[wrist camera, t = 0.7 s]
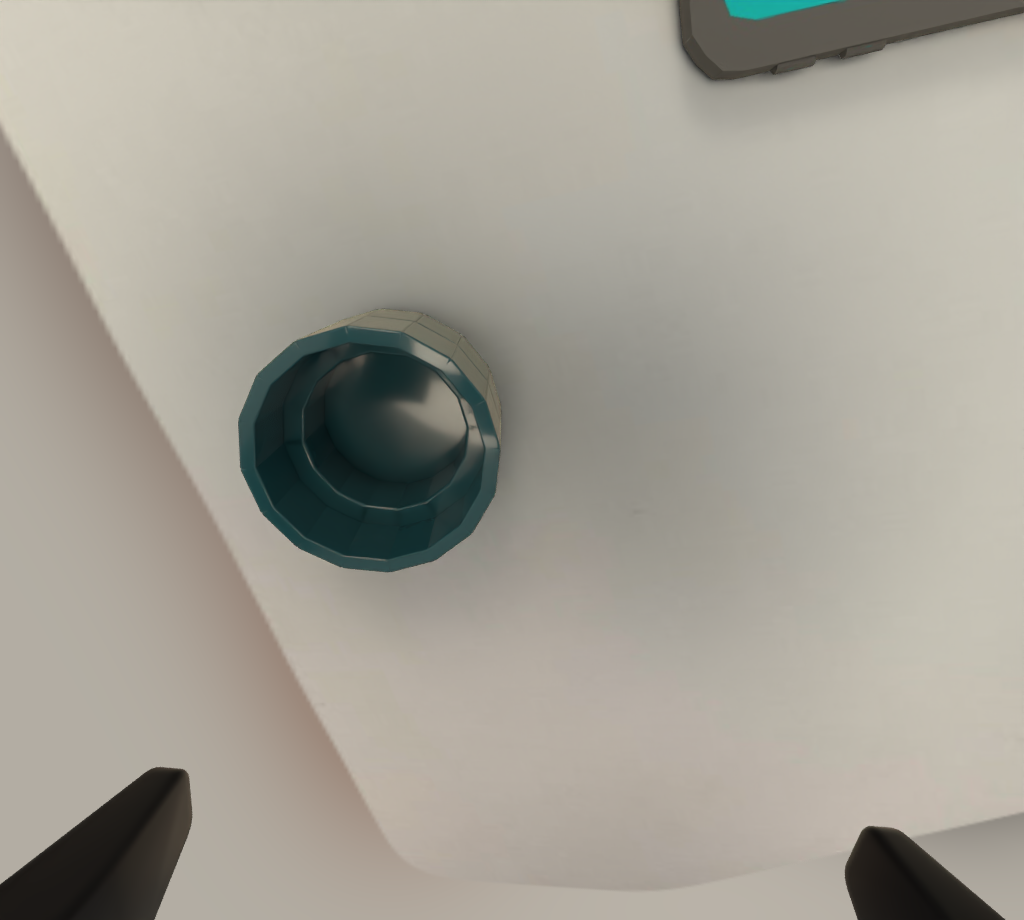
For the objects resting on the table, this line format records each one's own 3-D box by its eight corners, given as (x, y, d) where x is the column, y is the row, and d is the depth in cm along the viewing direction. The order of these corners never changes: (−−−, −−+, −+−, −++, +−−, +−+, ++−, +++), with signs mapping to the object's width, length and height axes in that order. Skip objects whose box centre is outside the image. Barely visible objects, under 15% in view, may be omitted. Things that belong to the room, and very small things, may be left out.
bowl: (489, 510, 20) (485, 582, 16) (299, 492, 20) (244, 559, 15) (511, 321, 18) (512, 344, 14) (298, 296, 17) (232, 312, 13)
